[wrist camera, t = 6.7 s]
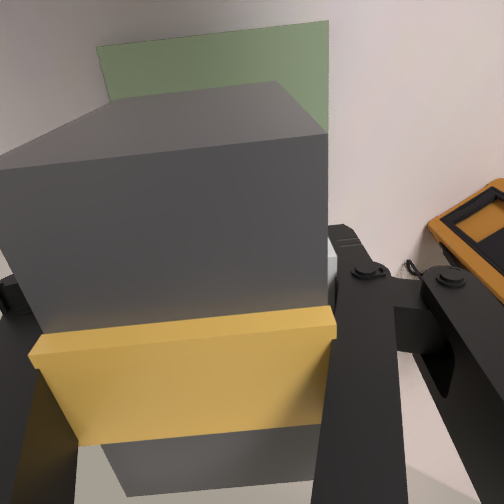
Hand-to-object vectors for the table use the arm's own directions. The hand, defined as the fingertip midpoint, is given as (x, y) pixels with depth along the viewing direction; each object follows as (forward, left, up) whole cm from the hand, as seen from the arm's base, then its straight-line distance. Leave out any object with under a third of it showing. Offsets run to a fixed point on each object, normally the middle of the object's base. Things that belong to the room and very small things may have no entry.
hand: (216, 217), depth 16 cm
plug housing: (0, 0, 0) cm, 0 cm away
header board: (0, 0, -16) cm, 16 cm away
